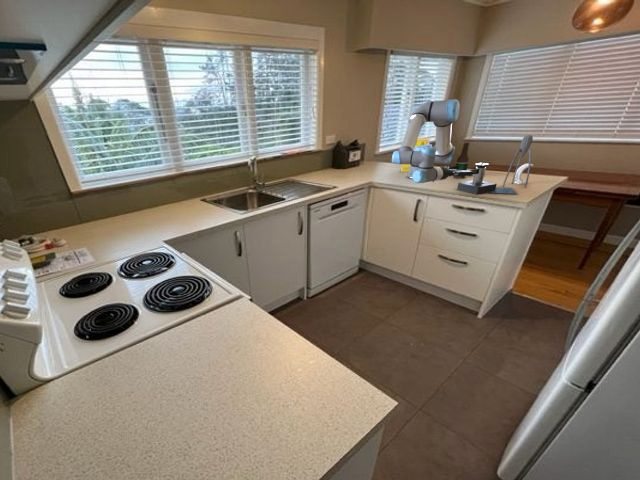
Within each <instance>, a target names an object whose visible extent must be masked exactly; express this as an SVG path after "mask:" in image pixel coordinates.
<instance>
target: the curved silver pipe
mask: <svg viewBox="0 0 640 480" xmlns="http://www.w3.org/2000/svg"><path fill="white" fill-rule="evenodd" d="M528 166H529V162H528V163H524V164H522V165H520V166H518V169H517V172H516V175H515V178H514V182H513V184H517V185H525V183H526V181H524V180H522V174H523V172H524V171H525V170H527V169H528ZM530 167H534V164H532V163H531V166H530ZM515 180H516V181H515ZM528 183H529V182H527V185H528Z"/></svg>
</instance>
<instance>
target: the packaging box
mask: <svg viewBox="0 0 640 480" xmlns="http://www.w3.org/2000/svg"><path fill="white" fill-rule="evenodd" d="M430 142H431V137H418V139H417V142H416V144H415V147H417V146H421V145H430V144H431V143H430ZM415 147H414V148H415ZM410 167H411V164H401V167H400V172H401V173H402V172H403V173H408V171H409V169H410Z"/></svg>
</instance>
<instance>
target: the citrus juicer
mask: <svg viewBox="0 0 640 480" xmlns="http://www.w3.org/2000/svg"><path fill="white" fill-rule="evenodd" d="M533 139H534V138H533V135H531V134H526V135H524V136H523V138H522V140H521V141H520V148H518V150H517V152H516V154H514V156H513V157H514V158H513V159H512V161H511V164H510V166H509V168H508V171H507V173H506V175H505V178H504V180H503V184H502V188H505V185H506V182H507V180H508V177H509V174H510V172H511V170H512V167H513V166H514V163H515V161H516V159H517V157H518V155H519V154H520V156H519V158H518V161H517V164H516V167H515V171H514V174H513V176H512V179H511V185H512V184H514V182H515V175H516V172H517V169H518V168H519V167H520V166H519V165H520V162H521V160H522V158H523V157H524V156H525V155H526V153H528V163H529V166H528V168H527V172H526V173H527V174H526V179H525V182H526V183H525V184H524V188H525V189H526V188H527V185H528V184H527V183H529V177H530V172H531V167H532V166H531V164H532V147H531V145H532V143H533ZM530 147H531V148H530Z"/></svg>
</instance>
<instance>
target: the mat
mask: <svg viewBox="0 0 640 480" xmlns="http://www.w3.org/2000/svg"><path fill="white" fill-rule="evenodd" d="M489 194H492V195H513V196H515V195H518V193H517V192H516V191H515V190H514V189H513V188H512V187H500V186H499V187H497V186H496V189H495V190H494V191H490V192H489Z"/></svg>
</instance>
